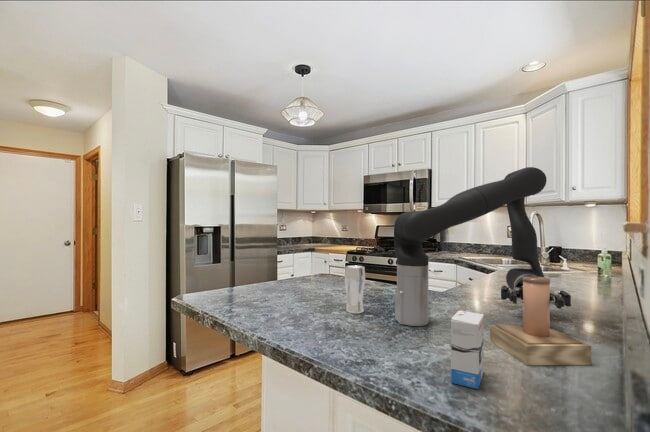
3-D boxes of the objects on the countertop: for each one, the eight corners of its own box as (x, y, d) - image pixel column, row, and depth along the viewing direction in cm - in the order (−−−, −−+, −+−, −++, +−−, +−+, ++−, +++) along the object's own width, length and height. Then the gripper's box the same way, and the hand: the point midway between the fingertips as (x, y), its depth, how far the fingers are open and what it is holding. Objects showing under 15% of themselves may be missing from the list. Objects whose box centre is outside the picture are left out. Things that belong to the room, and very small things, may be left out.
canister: (523, 334, 74) (523, 278, 74) (521, 327, 79) (521, 275, 79) (551, 338, 71) (551, 281, 71) (548, 331, 76) (548, 277, 76)
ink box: (479, 390, 57) (479, 324, 57) (449, 383, 60) (449, 319, 60) (484, 372, 64) (484, 312, 65) (458, 366, 67) (457, 309, 67)
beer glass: (341, 312, 106) (341, 267, 107) (348, 307, 113) (348, 264, 113) (361, 314, 104) (362, 268, 104) (367, 309, 110) (367, 265, 111)
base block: (526, 365, 67) (526, 344, 68) (490, 340, 81) (490, 323, 82) (591, 364, 68) (591, 344, 68) (544, 340, 82) (543, 323, 82)
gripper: (500, 273, 91) (501, 282, 77) (562, 277, 84) (575, 288, 70) (500, 299, 91) (501, 313, 77) (562, 306, 84) (575, 322, 70)
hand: (536, 301), depth 73 cm, fingers open, 8 cm apart
